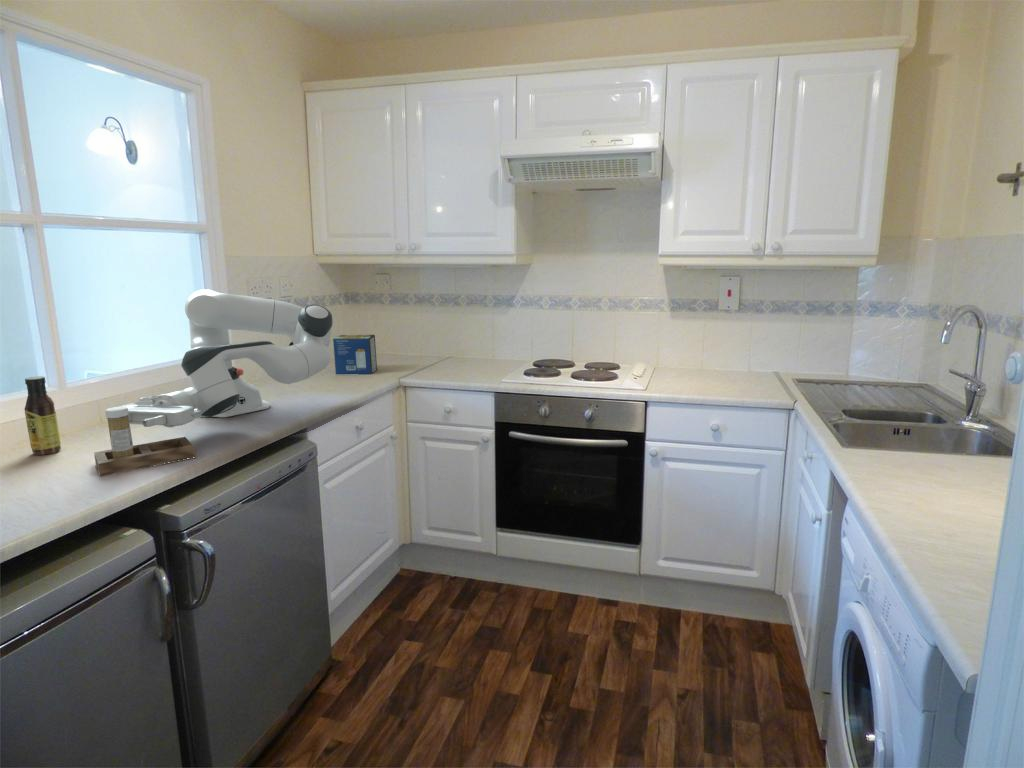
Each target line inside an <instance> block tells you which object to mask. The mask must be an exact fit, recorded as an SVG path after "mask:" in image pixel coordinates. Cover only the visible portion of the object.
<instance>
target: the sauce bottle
mask: <svg viewBox="0 0 1024 768" xmlns="http://www.w3.org/2000/svg"><path fill="white" fill-rule="evenodd" d="M24 381H25V383H24V384H25V385H26V389H27V397H26V402H25V406H24V415H25V420H26V426H27V432H28V439H29V444H30V449H31V451H32V453H33V455H36V456H43V455H44V454H45V455H49V454H54V453H57V452H59V451H61V449H62V448H61V447H62V445H61V444H62V442H61V438H60V431H59V425H58V424H59V423H58V418H57V411H56V408H55V402H54V401H53V399H52V398H51V397H50V396H49V395H48V394H47V393H48V391H47V387H46V383H47V382H46V377H45V376H42V375H41V376H40V375H38V376H37V375H35V376H29V377H27V378H25V379H24Z"/></svg>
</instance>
